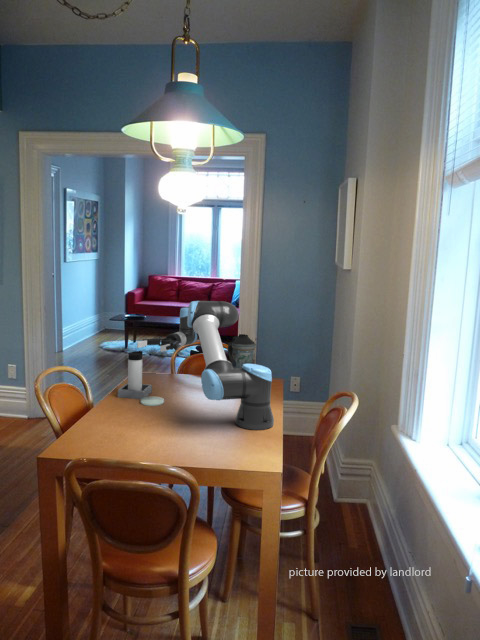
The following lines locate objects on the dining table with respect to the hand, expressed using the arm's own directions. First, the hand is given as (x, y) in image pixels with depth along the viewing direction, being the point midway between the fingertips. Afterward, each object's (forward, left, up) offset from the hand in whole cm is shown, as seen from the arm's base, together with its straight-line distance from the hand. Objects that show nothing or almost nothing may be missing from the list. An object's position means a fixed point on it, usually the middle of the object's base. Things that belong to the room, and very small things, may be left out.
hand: (149, 347), depth 235 cm
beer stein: (+25, -40, -21) cm, 52 cm away
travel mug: (-9, +3, -21) cm, 23 cm away
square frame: (-9, +3, -21) cm, 23 cm away
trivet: (-18, -8, -21) cm, 29 cm away
